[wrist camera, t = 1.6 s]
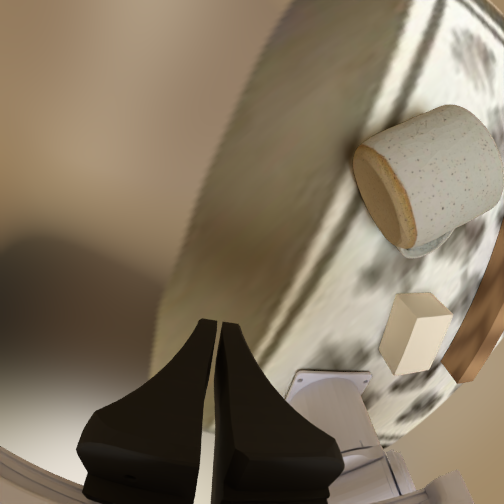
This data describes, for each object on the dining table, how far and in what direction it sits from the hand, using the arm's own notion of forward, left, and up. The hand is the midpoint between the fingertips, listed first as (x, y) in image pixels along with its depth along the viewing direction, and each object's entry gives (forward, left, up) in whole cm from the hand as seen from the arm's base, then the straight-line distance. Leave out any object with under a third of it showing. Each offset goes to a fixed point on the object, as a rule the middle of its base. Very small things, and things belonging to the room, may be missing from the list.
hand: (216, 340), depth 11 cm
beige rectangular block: (-4, -17, -10) cm, 20 cm away
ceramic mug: (+8, -12, -10) cm, 18 cm away
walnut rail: (+3, -27, -10) cm, 29 cm away
